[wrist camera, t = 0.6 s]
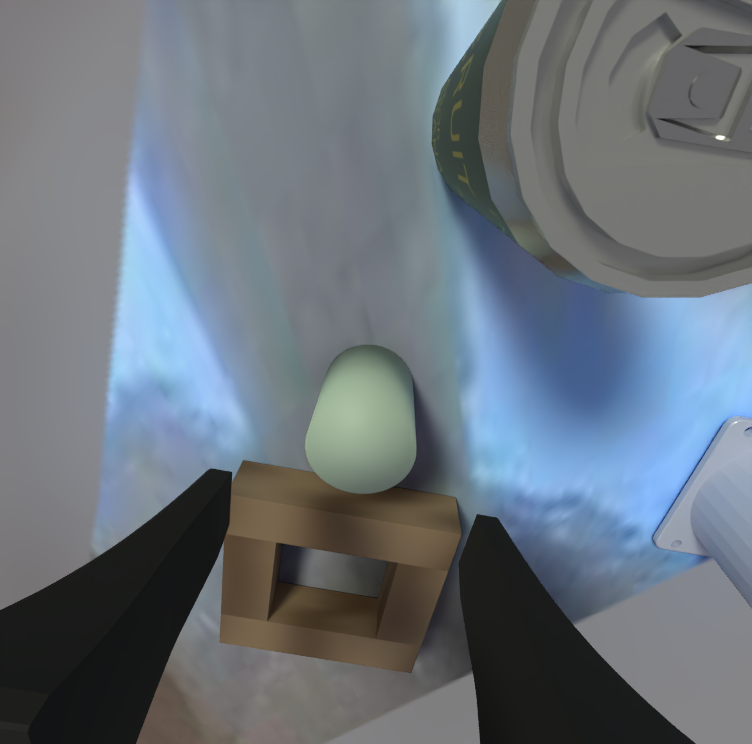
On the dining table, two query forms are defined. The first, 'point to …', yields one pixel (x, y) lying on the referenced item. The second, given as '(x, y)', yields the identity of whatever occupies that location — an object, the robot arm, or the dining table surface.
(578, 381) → the dining table surface
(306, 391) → the dining table surface
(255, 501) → the socket
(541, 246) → the beer can
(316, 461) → the peg
